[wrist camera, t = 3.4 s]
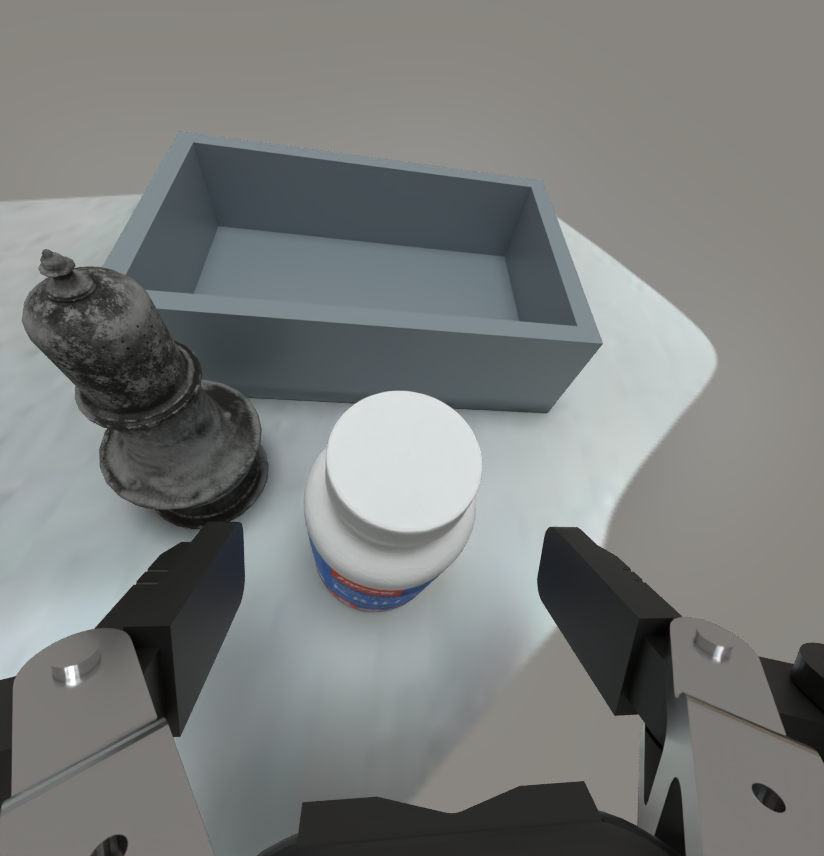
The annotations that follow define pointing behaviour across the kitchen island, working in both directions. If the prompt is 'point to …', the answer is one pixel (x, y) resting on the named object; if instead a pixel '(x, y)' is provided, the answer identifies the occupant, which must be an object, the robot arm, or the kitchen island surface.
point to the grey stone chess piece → (147, 397)
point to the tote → (359, 276)
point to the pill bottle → (391, 498)
